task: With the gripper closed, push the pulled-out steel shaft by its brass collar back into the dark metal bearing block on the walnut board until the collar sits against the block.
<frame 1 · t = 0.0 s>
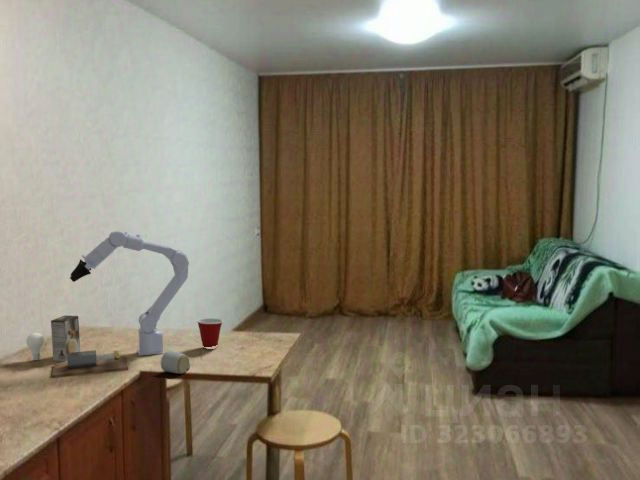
hand: (71, 278, 240), 32 cm above the table, tool tilted 50°, fingers open, 7 cm apart
plastic cup: (210, 348, 260), on the table
shaft: (96, 357, 234), point 4 cm above the table, slide at 6.0 cm
base board: (91, 367, 234), on the table
ceramic mug: (177, 371, 230), on the table
coffee box: (66, 358, 247), on the table
lightbulb: (36, 360, 243), on the table
bearing block: (82, 368, 233), resting on base board
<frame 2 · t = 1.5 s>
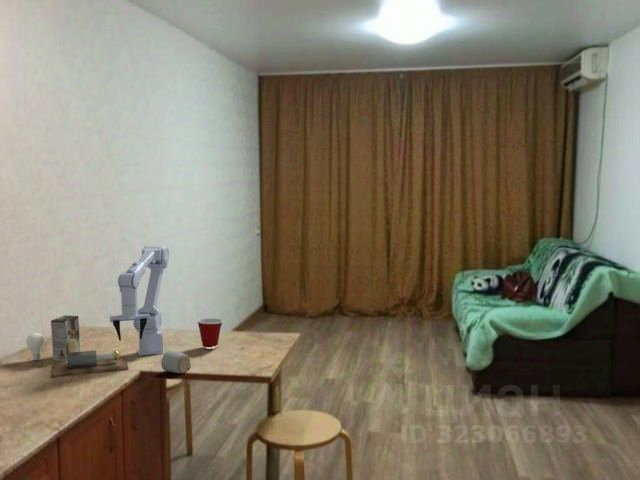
hand: (130, 339, 238), 10 cm above the table, tool pointing down, fingers open, 7 cm apart
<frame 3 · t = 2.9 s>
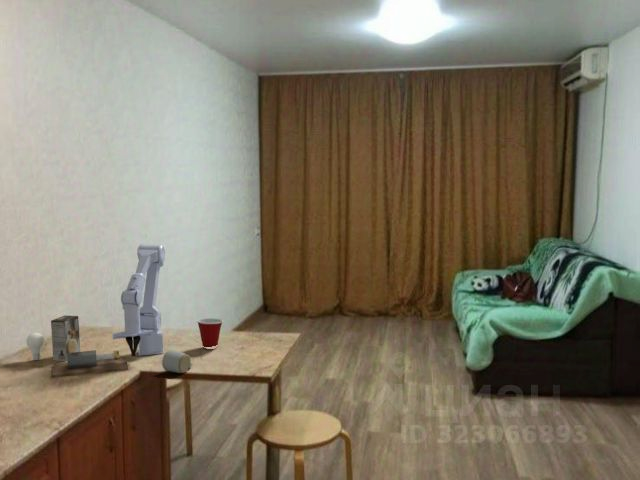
hand: (133, 355, 239), 3 cm above the table, tool pointing down, fingers closed
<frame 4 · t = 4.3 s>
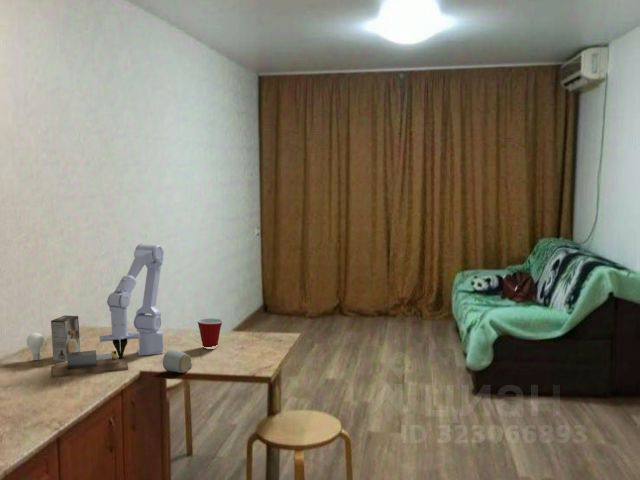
hand: (120, 358, 237), 2 cm above the table, tool pointing down, fingers closed
shaft: (93, 357, 234), point 4 cm above the table, slide at 5.1 cm, touching gripper
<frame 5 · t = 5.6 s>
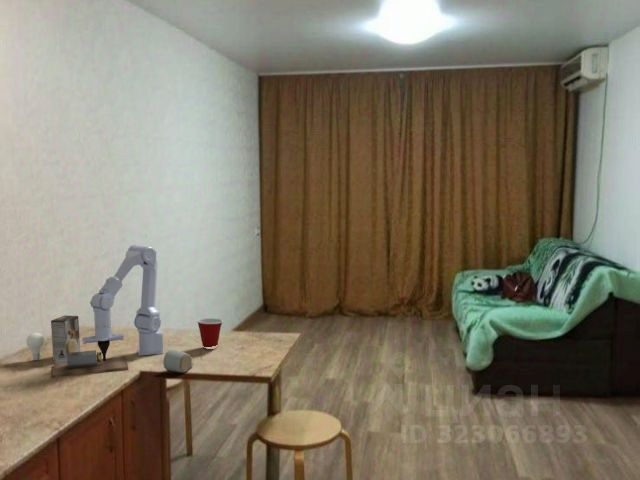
hand: (104, 360, 235), 2 cm above the table, tool pointing down, fingers closed
shaft: (78, 359, 232), point 4 cm above the table, slide at -0.2 cm, touching gripper
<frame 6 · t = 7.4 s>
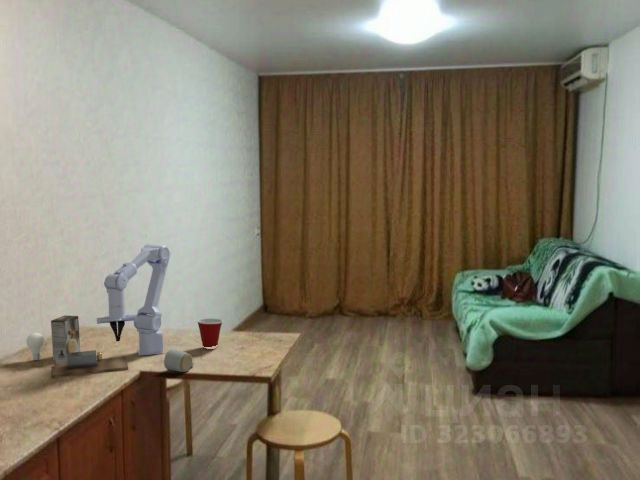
hand: (117, 340, 237), 9 cm above the table, tool pointing down, fingers closed
shaft: (79, 359, 232), point 4 cm above the table, slide at 0.0 cm
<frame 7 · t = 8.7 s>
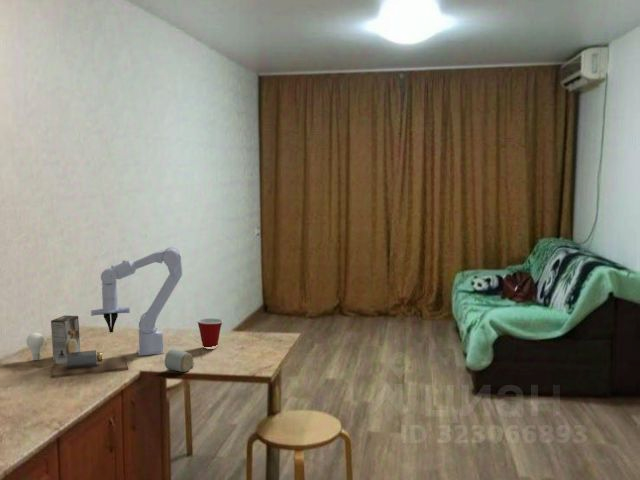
hand: (111, 331, 250), 9 cm above the table, tool pointing down, fingers closed
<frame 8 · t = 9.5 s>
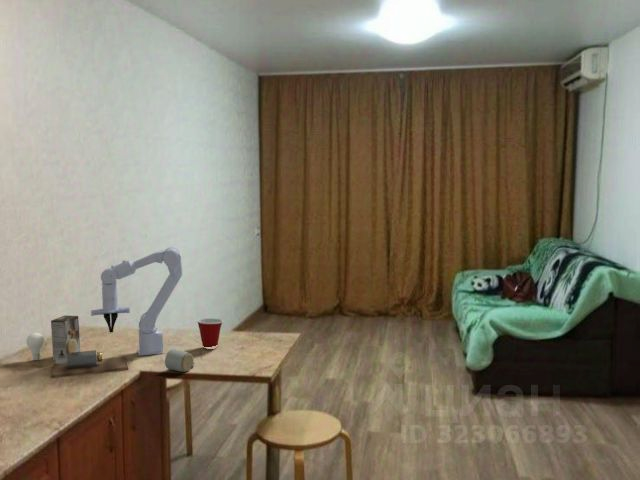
hand: (111, 331, 250), 9 cm above the table, tool pointing down, fingers closed
at the end: shaft slide at 0.0 cm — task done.
